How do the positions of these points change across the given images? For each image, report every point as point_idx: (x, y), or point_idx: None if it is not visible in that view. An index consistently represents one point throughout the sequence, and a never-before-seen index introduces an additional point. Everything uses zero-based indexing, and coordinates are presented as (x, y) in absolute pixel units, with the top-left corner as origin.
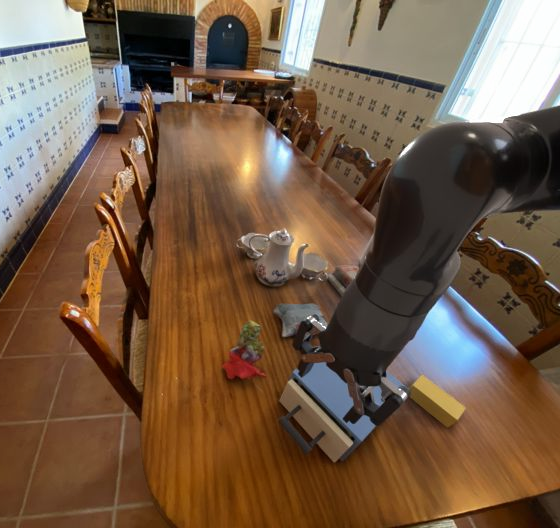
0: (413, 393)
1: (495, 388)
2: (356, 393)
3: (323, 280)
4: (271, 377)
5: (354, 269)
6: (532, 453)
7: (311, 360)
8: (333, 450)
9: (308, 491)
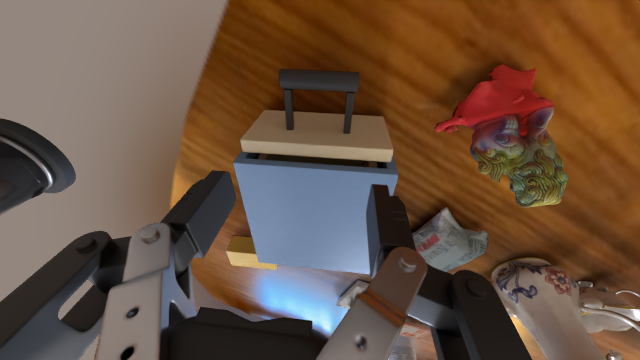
0: None
1: (239, 285)
2: (109, 322)
3: None
4: (418, 139)
5: (412, 334)
6: None
7: (378, 283)
8: (268, 120)
9: (258, 40)
